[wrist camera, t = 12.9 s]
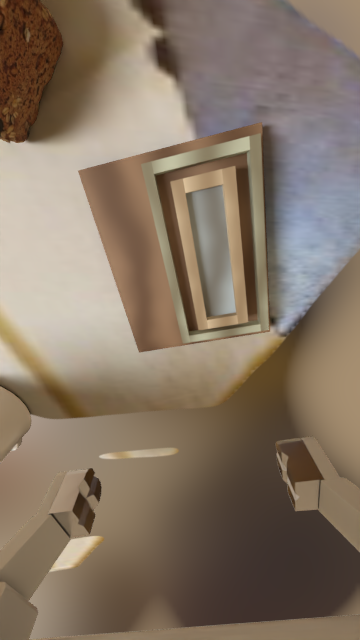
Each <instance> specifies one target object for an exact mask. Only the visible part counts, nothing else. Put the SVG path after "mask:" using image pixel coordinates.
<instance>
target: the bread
mask: <svg viewBox="0 0 360 640" xmlns="http://www.w3.org/2000/svg"><path fill="white" fill-rule="evenodd" d="M62 46H63V41H62V36H61V33H60V32H59V30H58V28H57V25H56V23H55V21H54V19H53V17H52V15H51V14H50V12H49V10H48V9H47V8H46V7H45V6H44V5H43V4H42V3H41V2H40V0H0V139H2V140H3V141H6V142H8V143H10V141H14V142H16V143H20V142H24V141H25V140H26V139H27V137H28V135H29V127H31V126H32V125H33V123H34V122H35V120H36V118H37V115H38V108H39V101H40V100H41V95H42V92H43V89H44V86H45V85H46V84H47V83H48V82H49V81H50V80H51V78H52V75H53V72H54V69H55V65H56V62H57V60H58V58H59V56H60V54H61V48H62Z"/></svg>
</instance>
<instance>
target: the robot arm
mask: <svg viewBox="0 0 360 640" xmlns="http://www.w3.org/2000/svg"><path fill="white" fill-rule="evenodd" d="M30 426H31V416H30V413H29V411H28V409H27V407H26V406H25V405H24V403H23V402H22V401H21V400H20V399H19V398H18V397H16V396H15V395H14V394H13V393H11V392H10V391H8V390H6V389H5V388H3V387H1V386H0V463H1V462H2V461H3V459H4V458H5V457H6V456H7V455H8V454H9V453H10V451H14V450H16V449H17V448H18V447H19V446H20V445H21V442H22V437H23V436H24V434H26V432H27V431H28V430H29V429H30ZM276 449H277V452H278V453H277V454H276V458H277V463H278V467H279V470H280V473H281V476H282V478H283V480H284V481H285V482H286V483H287V488H288V494H289V496H290V499H291V501H292V504H293V506H294V509H295V511H303V510H315V509H319V511H320V512H321V513H322V514H323V515H324V517H326V519H327V520H328V521H329V522H330V523H331V524H333V526H334V527H335V528H336V529H337V530H338V531H339V532H340V533H341V534H342V535H343V536H344V537H345V538H346V539H347V540H348V541H349V542H350V543H351V544H352V545H353V546H354V547H355V548H356V549H357V550H358V551H359V552H360V488H358V487H357V486H355V485H354V484H353V483H351V482H350V481H349V480H347V479H346V478H340V477H339V475H338V474H337V472H336V470H335V469H334V467H333V465H332V464H331V462H330V461H329V459H328V457H327V456H326V454H325V453H324V451H323V449H322V448H321V446H320V445H319V443H318V441H317V440H316V439H315V438H314V437H313V436H310V437H304V438H295V439H289V440H283V441H277V442H276ZM94 474H95V472H94V471H93V469H92V468H89V469H81V470H74V471H65V472H59V473H58V474H57V475H56V476H55V477H54V479H53V481H52V483H51V485H50V487H49V489H48V491H47V493H46V496H45V498H44V500H43V502H42V504H41V506H40V508H39V510H38V512H37V514H36V516H33V517H31V518H30V519H29V520H28V522H27V523H26V524H25V525H24V526H23V527H22V528H21V529H20V530H19V531H18V532H17V533H16V534H15V535H14V536H13V537H12V538H11V539H10V541H8V542H7V544H6V545H5V546H4V547H3V548H2V549H1V550H0V640H360V615H347V616H334V617H321V618H307V619H293V620H280V621H267V622H255V623H254V622H253V623H240V624H228V625H214V626H202V627H187V628H174V629H161V630H147V631H135V632H121V633H107V634H94V635H80V636H68V637H54V638H41V639H29V638H30V635H31V632H32V629H33V626H34V623H35V620H36V618H37V615H38V610H37V608H36V607H35V606H34V605H33V604H31V603H30V602H29V600H30V598H31V597H32V595H33V593H34V592H35V591H36V589H37V588H38V586H39V585H40V583H41V582H42V581H43V579H44V577H45V576H46V575H47V573H48V572H49V570H50V569H51V567H52V566H53V564H54V563H55V561H56V560H57V559H58V557H59V556H60V554H61V553H62V551H63V550H64V548H65V547H66V545H67V544H68V542H69V541H70V538H72V537H79V536H86V535H89V534H90V532H91V529H92V525H93V522H94V519H95V512H94V509H95V507H96V506H97V505H98V503H99V501H100V497H101V482H100V481H99V479H98V478H96V477H95V476H94Z"/></svg>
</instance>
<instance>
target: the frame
mask: <svg viewBox="0 0 360 640" xmlns="http://www.w3.org/2000/svg"><path fill="white" fill-rule="evenodd" d="M170 183H171V188H172V193H173V198H174V204H175V209H176V214H177V219H178V225H179V230H180V235H181V240H182V246H183V251H184V256H185V261H186V267H187V272H188V277H189V282H190V287H191V293H192V298H193V303H194V308H195V314H196V319H197V324H198V329H199V330H204V329H211V328H217V327H223V326H229V325H235V324H241V323H247V322H248V314H247V302H246V289H245V277H244V265H243V253H242V241H241V229H240V217H239V205H238V193H237V181H236V169H235V166H232V167H228V168H224V169H220V170H216V171H212V172H208V173H204V174H199V175H195V176H191V177H187V178H183V179H179V180H175V181H171V182H170Z"/></svg>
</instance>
